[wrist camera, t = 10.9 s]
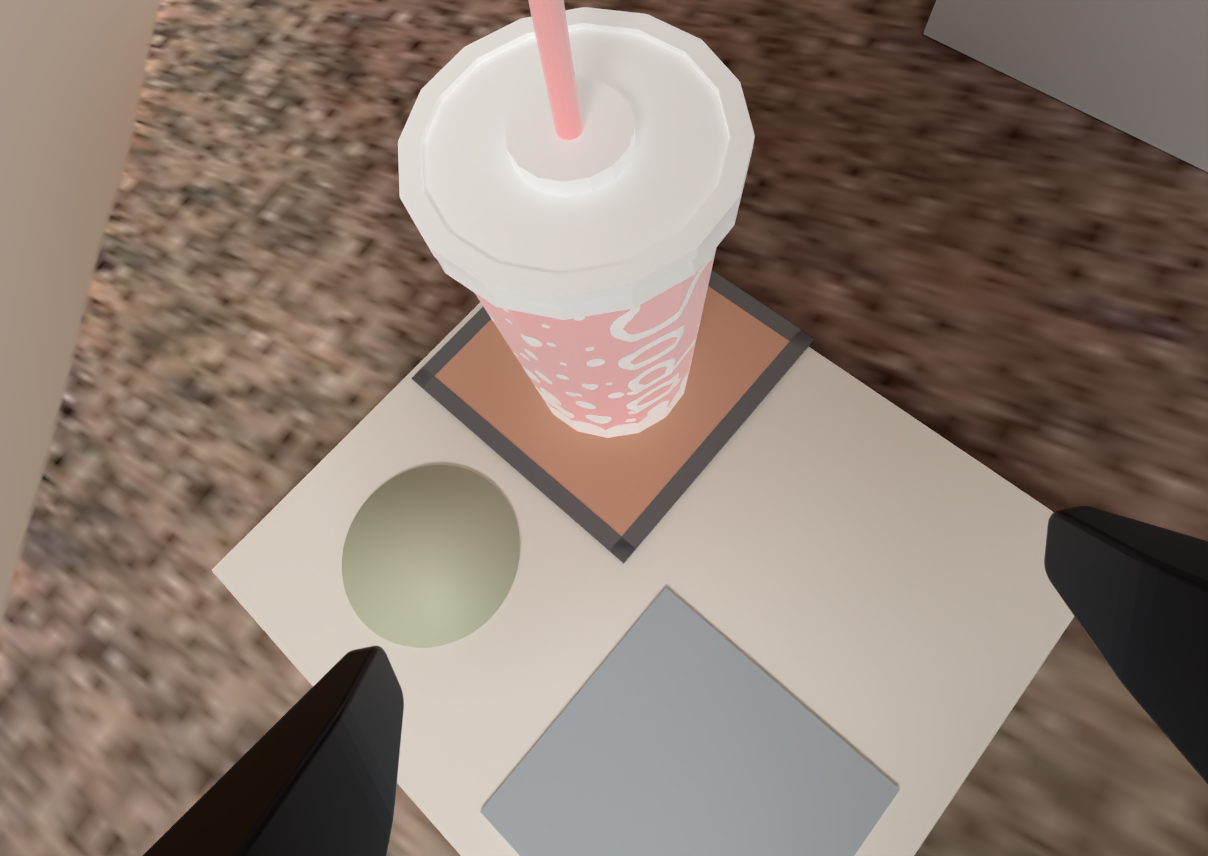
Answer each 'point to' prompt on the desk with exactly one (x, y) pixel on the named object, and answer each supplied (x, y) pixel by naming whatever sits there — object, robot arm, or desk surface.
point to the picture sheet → (666, 602)
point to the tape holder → (1098, 59)
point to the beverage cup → (583, 199)
